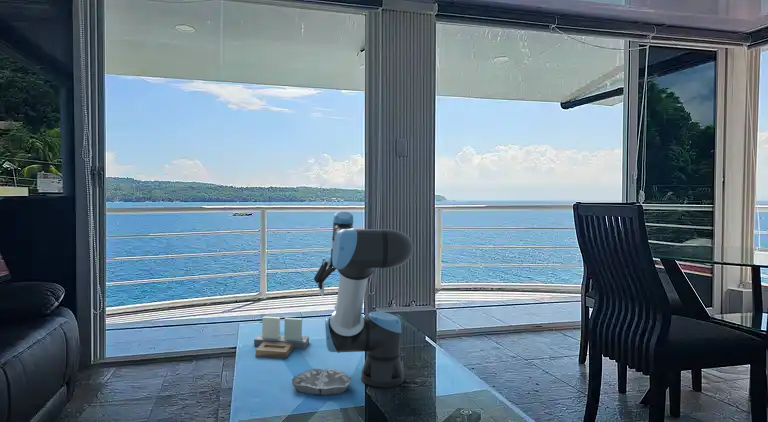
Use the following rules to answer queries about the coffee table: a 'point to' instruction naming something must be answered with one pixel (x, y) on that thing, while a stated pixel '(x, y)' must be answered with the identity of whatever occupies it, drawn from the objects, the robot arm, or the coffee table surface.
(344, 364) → the coffee table surface
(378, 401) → the coffee table surface
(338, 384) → the brain slice
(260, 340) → the grey slotted plate
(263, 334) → the pale green slab
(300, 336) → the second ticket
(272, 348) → the frame
